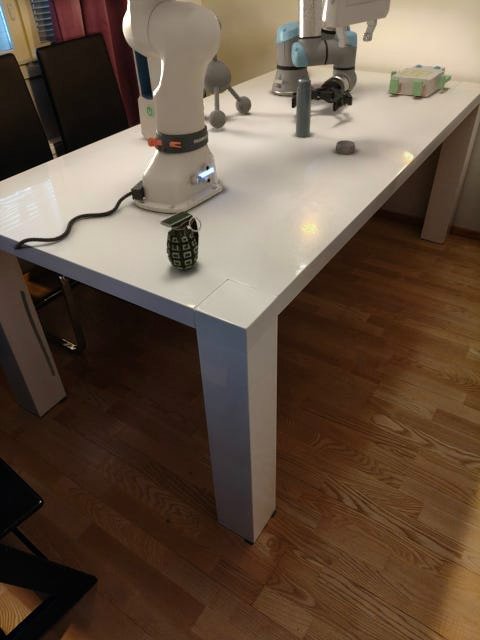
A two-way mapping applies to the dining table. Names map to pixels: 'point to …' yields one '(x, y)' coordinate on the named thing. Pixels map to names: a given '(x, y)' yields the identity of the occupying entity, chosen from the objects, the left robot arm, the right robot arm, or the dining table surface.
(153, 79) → the electronic device
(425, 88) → the decorative block
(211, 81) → the molecular model
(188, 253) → the grenade
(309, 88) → the grey cylinder
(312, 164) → the dining table surface
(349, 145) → the lid
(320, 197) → the dining table surface
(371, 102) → the dining table surface
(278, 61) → the right robot arm
